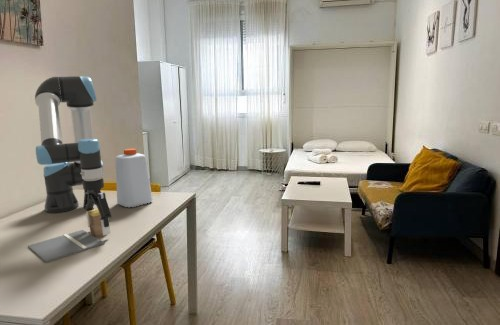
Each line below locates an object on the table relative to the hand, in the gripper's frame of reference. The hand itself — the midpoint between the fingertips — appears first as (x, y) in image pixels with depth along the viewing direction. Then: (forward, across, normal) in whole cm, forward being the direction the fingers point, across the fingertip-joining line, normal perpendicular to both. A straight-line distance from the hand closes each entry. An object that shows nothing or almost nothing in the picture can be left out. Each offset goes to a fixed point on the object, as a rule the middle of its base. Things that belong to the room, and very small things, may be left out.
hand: (99, 230), depth 145 cm
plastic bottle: (+2, -28, +31) cm, 42 cm away
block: (+2, 0, 0) cm, 2 cm away
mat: (+2, +1, -13) cm, 13 cm away
